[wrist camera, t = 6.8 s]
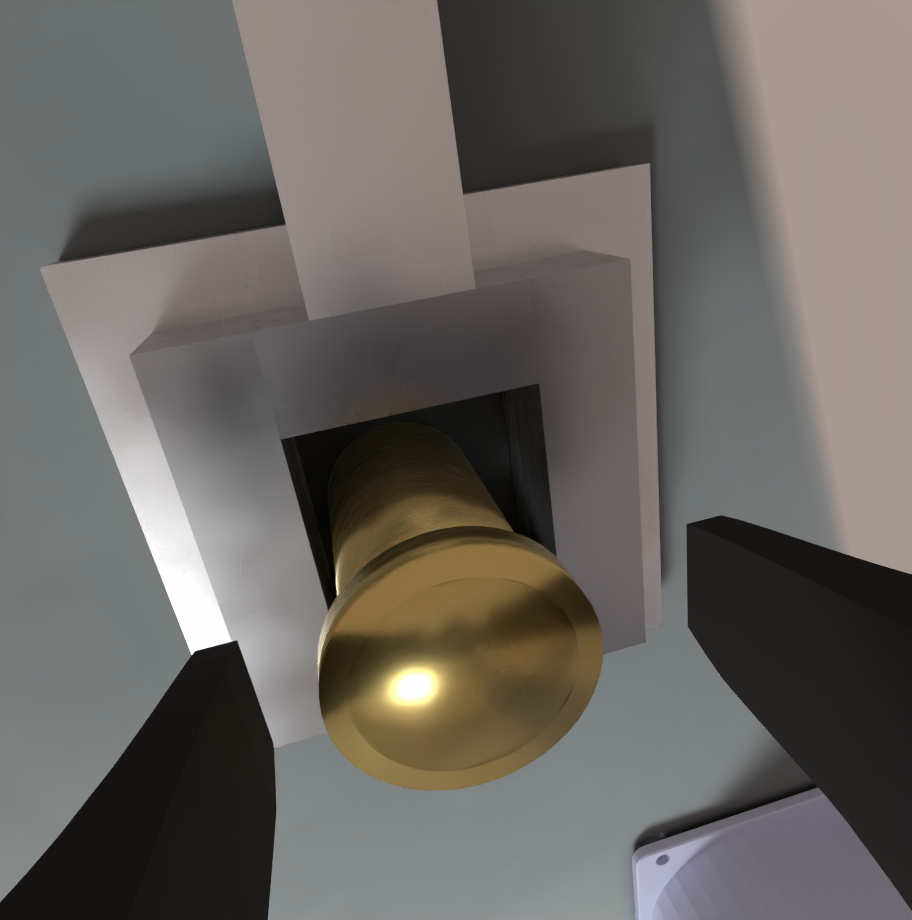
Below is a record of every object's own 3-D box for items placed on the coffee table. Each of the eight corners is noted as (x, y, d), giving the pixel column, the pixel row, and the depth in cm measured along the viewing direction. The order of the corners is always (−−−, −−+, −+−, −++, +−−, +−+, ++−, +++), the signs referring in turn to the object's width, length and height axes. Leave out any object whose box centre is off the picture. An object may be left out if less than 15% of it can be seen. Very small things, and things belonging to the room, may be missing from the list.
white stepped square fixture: (595, -660, 10) (708, -977, 7) (645, 606, 19) (702, 673, 17) (-305, -686, 8) (-600, -1119, 6) (232, 720, 18) (220, 816, 15)
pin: (478, 391, 16) (601, 524, 9) (494, 549, 18) (605, 751, 11) (293, 422, 15) (291, 589, 9) (328, 584, 17) (347, 820, 11)
